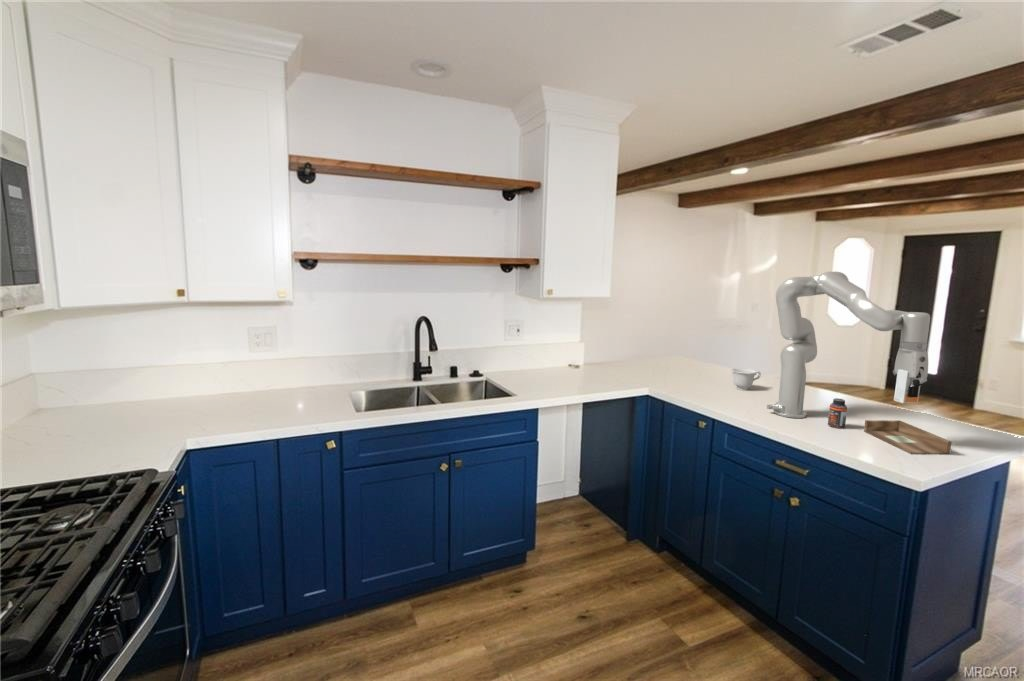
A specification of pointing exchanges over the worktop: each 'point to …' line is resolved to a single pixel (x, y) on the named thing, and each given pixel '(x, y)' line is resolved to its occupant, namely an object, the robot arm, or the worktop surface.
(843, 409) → the supplement bottle
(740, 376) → the teacup
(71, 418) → the worktop surface
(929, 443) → the wooden tray
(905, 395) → the skincare box
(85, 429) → the worktop surface
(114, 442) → the worktop surface
